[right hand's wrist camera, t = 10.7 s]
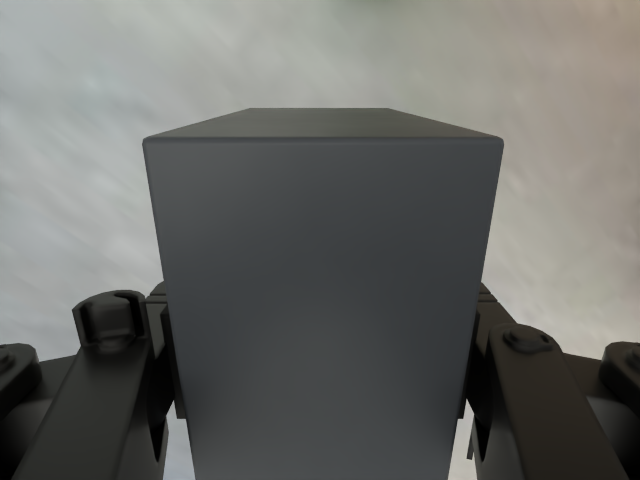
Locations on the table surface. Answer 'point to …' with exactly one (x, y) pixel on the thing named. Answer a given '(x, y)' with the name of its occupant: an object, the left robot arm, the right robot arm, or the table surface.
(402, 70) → the table surface
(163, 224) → the beam
